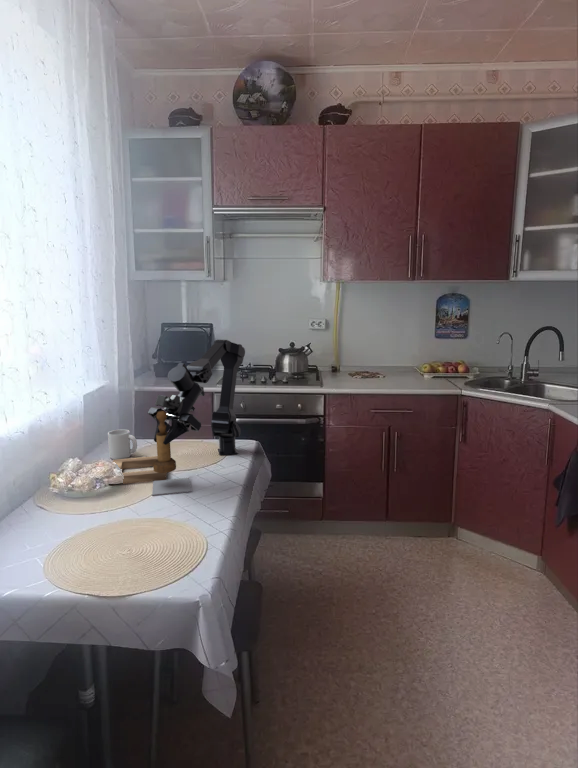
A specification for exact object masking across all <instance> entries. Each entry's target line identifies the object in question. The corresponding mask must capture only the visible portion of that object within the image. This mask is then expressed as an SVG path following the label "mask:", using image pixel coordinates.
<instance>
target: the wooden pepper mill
mask: <svg viewBox="0 0 578 768" xmlns="http://www.w3.org/2000/svg"><path fill="white" fill-rule="evenodd" d="M167 414H168V412H167V411H165V410H164V411H159V412H157V415H156V417H157V419H158V421H159V422H160V424H159V426H158V427H159V431H160V432H159V433H157V434H156V440H157V442H156V453H157V454H156V456H157V460H156V461H155V462H154V463H153V466H152V467H153V470H154V471H155V472H157V473H167V474H168V473H171V472H174V471H175V470H176V469H177V461H176V459H174V458H173V457H172V455H171V454H172V453H171V442H169V443H168V444H166V445H165V444H164V443H163V442H164V439H165V437H166V435H167V434H168V432H169V431H168V432H165V431H166V425H165V420H166V418H167Z"/></svg>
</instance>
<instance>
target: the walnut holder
mask: <svg viewBox="0 0 578 768" xmlns="http://www.w3.org/2000/svg"><path fill="white" fill-rule="evenodd" d="M156 460H157V455H155V456H153V455H152V456H143V457H142V456H141V457H140V456H139V457H131V458H130V457H128V458H126V459H116V460H114V459H112V463H113V462H115V463H116V464H117V465H118V467H119V468H120V469H122V471H124V470H127V469H141V468H148V467H149V468H150V466H152V467H153V463H154V462H155V461H156ZM122 473H123V475H124V479H123V484H122V485H124V484H127V485H128V484H137V483H138V484H139V483H146V482H147V483H149V482H153V481H159V480H168V479H167V478H168V477H167V476H168V475H167V474H168V472H167V473H157V472H155V471H154V469H151V470H150V469H149V470H140V471H130V472H129V471H128V472H122Z"/></svg>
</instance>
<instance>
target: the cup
mask: <svg viewBox="0 0 578 768" xmlns="http://www.w3.org/2000/svg"><path fill="white" fill-rule="evenodd" d="M107 438H108V439H107V442H108V443H107V444H108V453H109V458H110V459H111V460H116V459H128V458H130V457H131V456H132V454H135V453H136V452H137V449H138V441H137V438H136V437H135V436H134V435H132V434H130V430H129V429H116V430H115V429H114V430H111V431H108V432H107ZM131 442H132V448H131Z"/></svg>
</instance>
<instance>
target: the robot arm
mask: <svg viewBox="0 0 578 768" xmlns="http://www.w3.org/2000/svg"><path fill="white" fill-rule="evenodd" d="M245 355H246V348H245V347H243V345H242V344H240V343H239V344H238V343H235V342H232V341H231V340H228V339H215V340H214V341H213V344H212V345H211V346H210V348H209V349H207V351H206V352H205V353H204V354H203V355H202V356H201V357H200V359H198V360H195V361H192V362H190V363H189V364H188V365H187V366H186V364H185V363H178V364H177V365H176V366H174V367H173V368H171V369H170V370H169V371H168V373H167V379H168V380H169V381H170V383H171V384H172V385H173V387H174V388H175V389H176V390H177V391H178V392H179V393H178V394H177V395H175V394H172V395H171V396H166V395H162V394H161V395H160V394H158V395H157V397H156V401H155V402H154V403H155V404H154V405H155V406H151V407H150V408H149V409H148V411H147V414H148V415H149V416H150V417H151V418H152V419H154V420H155V422H156V428H155V433H154V436H153V437H154V438H153V442H155V443H157V440H156V434H157V433H159V432H160V431H159V427H158V426H159V424H160V422H159V421H158V419H157V417H156V415H157V412H159V411H165V412H166V413H167V418H166V420H165V425H166V431H165V432H168V434H167V435H166V437H165V439H164V442H163V443H164V444H165V445H166V444H168V443H169V442H170V443H171V442H172V441H174V440H176V439H177V438H178V437H180V436H182V435H184V434H185V433H188V432H190V430H191V431H194V432H197V433H199V431H200V429H201V428H202V422H201V420H199V419H198V418H197V417H196V416H195V415H194V414H192V413H191V412H194V411H195V409H196V408H195V407H194V405H195V404H196V402H197V400H198V399H199V397H200V396H203V397H205V395H206V394H205V393H206V392H205V390H204V389H205V388H204V387H203V386H200V385H199V384H206V383H207V384H208V383H209V381H210V379H211V377H212V376H213V372H212V371H213V369H214V368H215V366H216V365H217V364H218V363H219V361H220V362H221V365H222V366H223V370H222V371H223V372H222V379H221V381H222V382H221V388H220V397H219V407H218V408H217V409H216V411H213V413H212V419H211V424H210V425H211V426H210V427H211V431H212V435H213V437H218V441H219V448H217V452H218V455H219V456H225V455H227V456H228V455H236V454H237V455H238V453H239V452H238V450H237V447H236V438H240V437H241V436H240V435H241V430H242V429H241V427H240V426H239V424H238V423H237V416H236V413H235V411H234V402H235V401H234V400H235V392H236V386H237V385H236V384H237V376H238V369H239V368H240V367H241V365H242V364H243V362H244V357H245ZM157 406H159V407H157ZM161 407H162V408H163V409H162V408H161ZM169 422H171V423H170V424H171V425H170V424H169ZM189 428H190V430H189Z"/></svg>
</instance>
